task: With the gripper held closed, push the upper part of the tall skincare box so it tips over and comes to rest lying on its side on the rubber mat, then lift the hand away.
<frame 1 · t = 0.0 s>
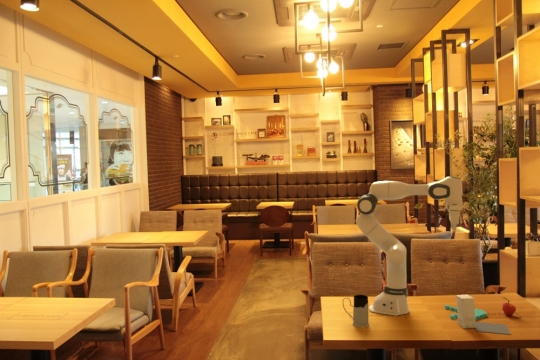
hand: (453, 230, 262), 48 cm above the table, tool pointing down, fingers open, 8 cm apart
alien figure: (466, 315, 266), on the table
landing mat: (491, 328, 244), on the table
skincare box: (466, 326, 247), on the table, touching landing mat
apple: (508, 315, 263), on the table
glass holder: (355, 324, 253), on the table
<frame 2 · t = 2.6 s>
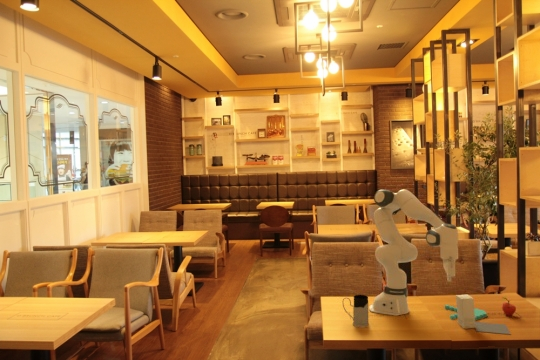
hand: (449, 281, 249), 23 cm above the table, tool pointing down, fingers closed
nothing on the table moved.
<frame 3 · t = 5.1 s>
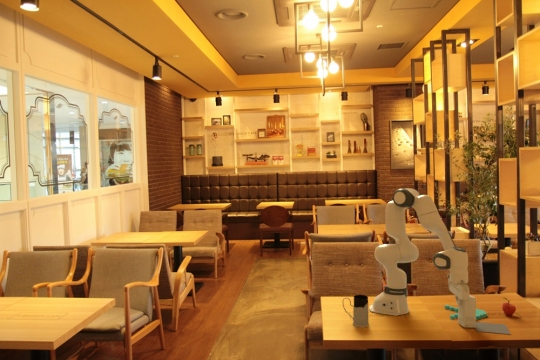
hand: (458, 304, 248), 11 cm above the table, tool pointing down, fingers closed
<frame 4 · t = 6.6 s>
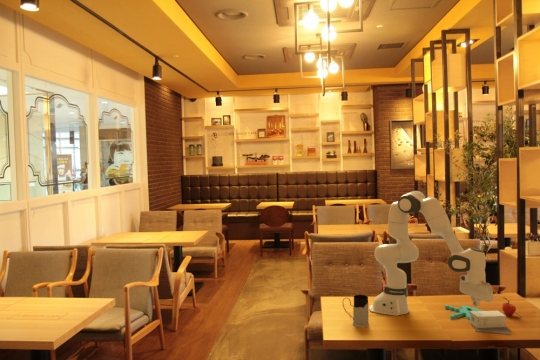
hand: (476, 305, 245), 11 cm above the table, tool pointing down, fingers closed
skincare box: (472, 319, 247), point 4 cm above the table, touching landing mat
everything else where it was.
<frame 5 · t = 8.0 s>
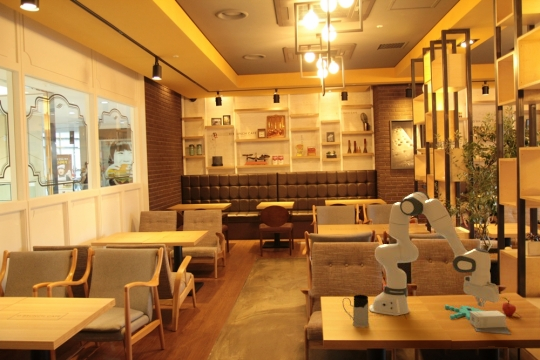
hand: (480, 306, 245), 11 cm above the table, tool pointing down, fingers closed
nothing on the table moved.
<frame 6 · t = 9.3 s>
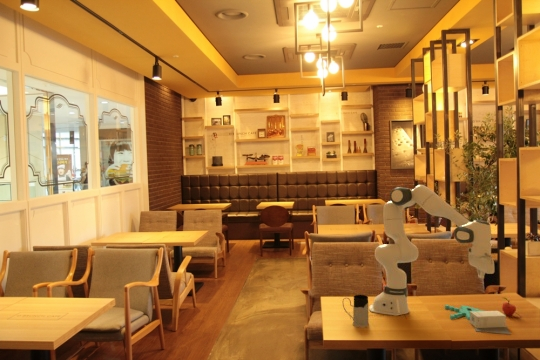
hand: (481, 277, 244), 26 cm above the table, tool pointing down, fingers closed
nothing on the table moved.
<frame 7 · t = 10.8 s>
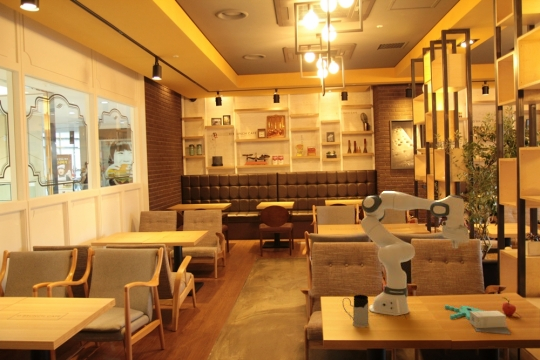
hand: (455, 248, 268), 37 cm above the table, tool pointing down, fingers closed
nothing on the table moved.
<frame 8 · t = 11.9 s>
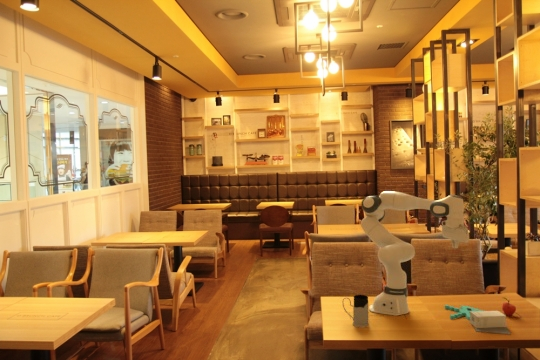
hand: (455, 247, 268), 37 cm above the table, tool pointing down, fingers closed
nothing on the table moved.
at the end: skincare box tilted 91°; skincare box inside the target area (3.5 cm from its centre), point 3.7 cm above the table; skincare box touching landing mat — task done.
